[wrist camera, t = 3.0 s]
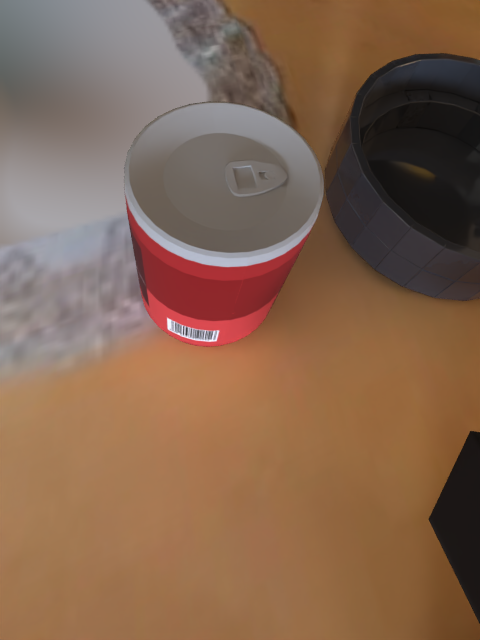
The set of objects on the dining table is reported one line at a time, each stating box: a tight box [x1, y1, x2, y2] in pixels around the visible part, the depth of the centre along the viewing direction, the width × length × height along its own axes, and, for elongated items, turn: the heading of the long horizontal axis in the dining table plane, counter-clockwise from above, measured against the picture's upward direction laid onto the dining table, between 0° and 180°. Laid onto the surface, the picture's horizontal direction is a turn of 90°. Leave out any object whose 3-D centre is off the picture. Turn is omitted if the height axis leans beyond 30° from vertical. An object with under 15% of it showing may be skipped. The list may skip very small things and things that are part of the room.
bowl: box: [325, 53, 480, 301], centre depth 30 cm, size 16×16×6 cm
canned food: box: [124, 102, 324, 347], centre depth 22 cm, size 8×8×11 cm
